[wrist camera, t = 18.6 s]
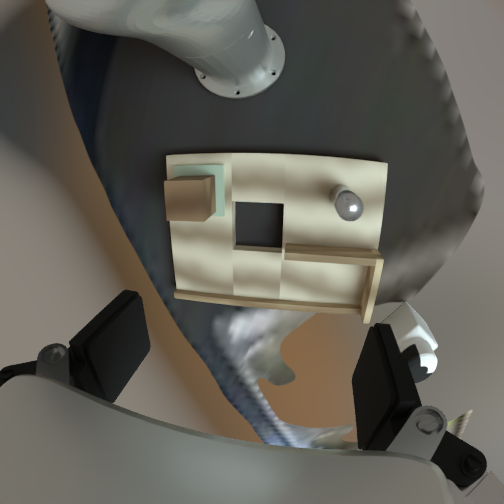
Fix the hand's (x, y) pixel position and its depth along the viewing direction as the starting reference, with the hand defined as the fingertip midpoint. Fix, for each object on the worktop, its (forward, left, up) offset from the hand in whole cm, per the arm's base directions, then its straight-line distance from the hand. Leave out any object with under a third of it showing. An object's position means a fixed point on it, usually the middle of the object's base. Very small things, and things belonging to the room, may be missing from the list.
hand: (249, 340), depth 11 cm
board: (+5, -2, -30) cm, 31 cm away
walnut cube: (-1, -12, -27) cm, 30 cm away
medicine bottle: (+20, +21, -30) cm, 42 cm away
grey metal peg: (-1, +7, -28) cm, 29 cm away
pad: (-1, -12, -28) cm, 30 cm away
